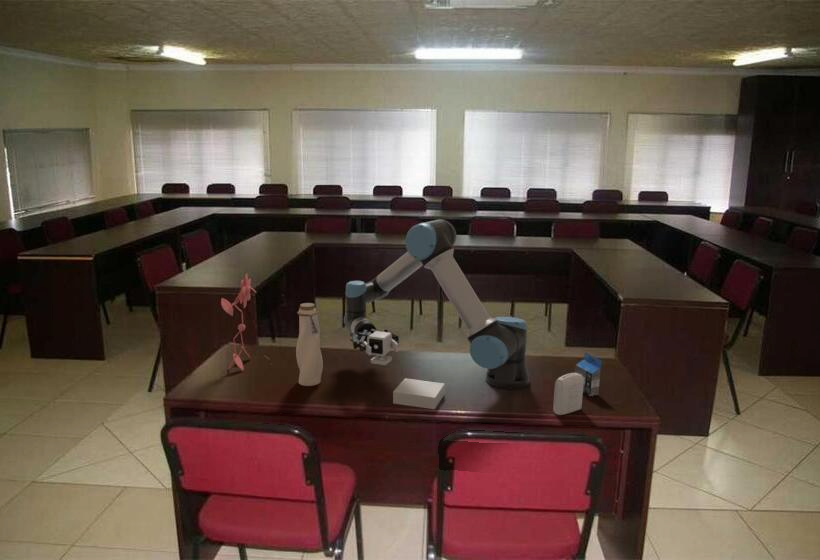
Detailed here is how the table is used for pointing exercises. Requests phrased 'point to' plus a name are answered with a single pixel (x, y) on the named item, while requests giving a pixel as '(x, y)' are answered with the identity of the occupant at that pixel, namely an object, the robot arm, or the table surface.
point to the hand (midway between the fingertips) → (383, 349)
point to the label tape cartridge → (589, 374)
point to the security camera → (380, 347)
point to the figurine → (228, 308)
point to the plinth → (419, 393)
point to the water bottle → (309, 346)
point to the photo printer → (568, 393)
